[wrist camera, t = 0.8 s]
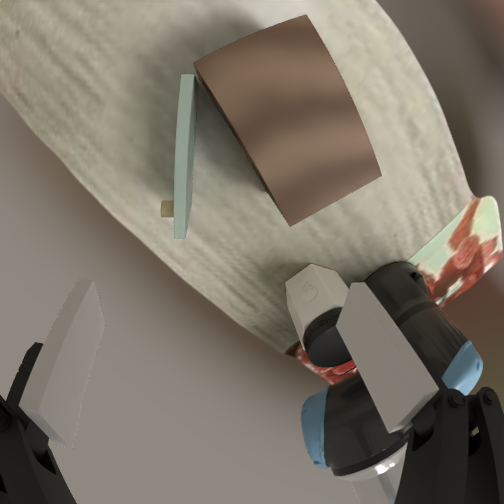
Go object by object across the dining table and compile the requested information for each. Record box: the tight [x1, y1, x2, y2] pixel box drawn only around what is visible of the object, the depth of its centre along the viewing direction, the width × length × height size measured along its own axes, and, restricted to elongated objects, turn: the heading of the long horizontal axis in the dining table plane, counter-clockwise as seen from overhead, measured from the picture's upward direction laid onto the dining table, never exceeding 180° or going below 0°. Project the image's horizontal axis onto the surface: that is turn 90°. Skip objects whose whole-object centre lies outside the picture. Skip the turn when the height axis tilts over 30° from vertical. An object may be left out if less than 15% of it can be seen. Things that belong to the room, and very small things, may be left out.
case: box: [193, 15, 382, 226], centre depth 25 cm, size 16×10×10 cm, turn 29°
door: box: [161, 74, 199, 239], centre depth 25 cm, size 14×3×9 cm, turn 174°
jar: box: [285, 264, 352, 367], centre depth 36 cm, size 9×8×12 cm
